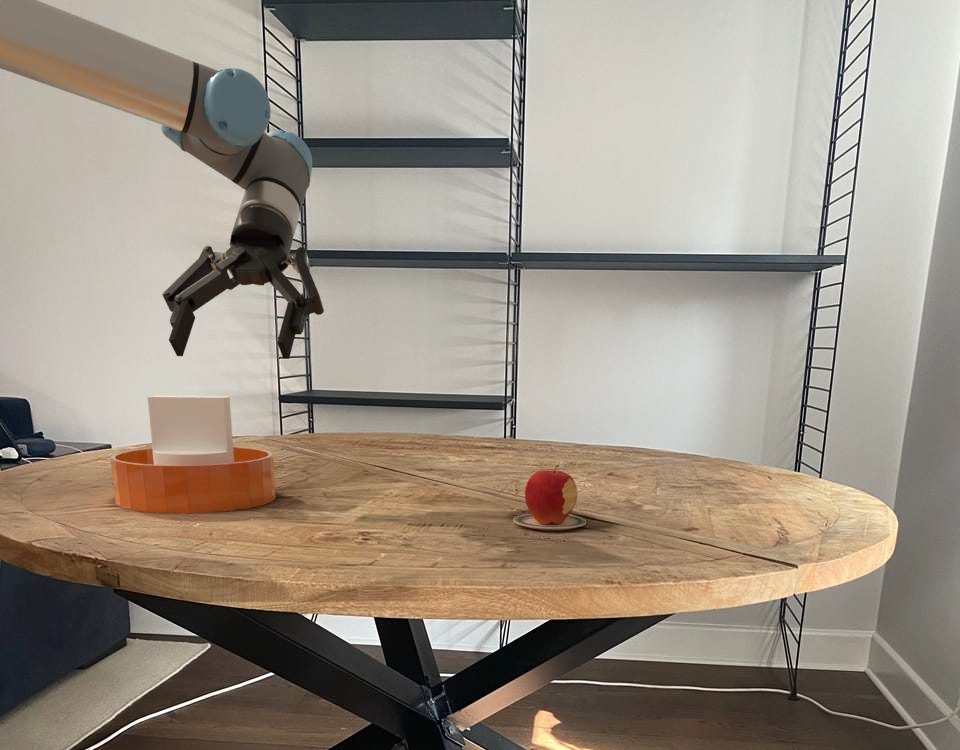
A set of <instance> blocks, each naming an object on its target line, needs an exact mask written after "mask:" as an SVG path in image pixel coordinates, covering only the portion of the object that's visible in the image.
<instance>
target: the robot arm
mask: <svg viewBox="0 0 960 750" xmlns="http://www.w3.org/2000/svg"><path fill="white" fill-rule="evenodd" d="M0 69H1V70H3V71H7V72H10V73H13V74H15V75H18V76H21V77H24V78H27V79H29V80H32V81H36V82H38V83H41V84H44V85H47V86H50V87H53V88H56V89H58V90H61V91H64V92H67V93H69V94H73V95H74V96H79V97H81V98H84V99H87V100H89V101H92V102H96V103H98V104H101V105H104V106H107V107H110V108H113V109H116V110H119V111H121V112H124V113H127V114H130V115H133V116H135V117H139V118H142V119H145V120H147V121H150V122H153V123H156V124H159V125H161V126H160V128H161V132H162V134H163V135H164V137H166V139H168V140H169V141H170V142H172V143H173V144H174V145H176V146H177V147H179V149H180V150H181V151H183V152H184V153H185V152H186V153H188V154H189V155H190V156H192V157H193V158H196V159H197V160H199V162H202V163H203V164H205V165H206V166H208V167H209V168H211V169H213V170H214V171H215V172H217V173H219V174H220V175H222V176H223V177H225V178H227V179H228V180H230V181H231V182H232V183H233V184H235V185H237V186H238V187H240V188H241V189H242V190H244V193H243V197H242V199H241V202H240V206H239V209H238V213H237V216H236V219H235V221H234V224H233V228H232V231H231V234H230V239H229V240H230V241H229V246H228V248H227V249H225V250H224V252H220V251H219V252H218V251H214V250H213V247H212V246H210V245H206V246H204V247H203V248H202V250H201V252H200V254H199V256H198V258H196V260H195V261H194V262H193V263H192V264H190V266H189V267H187V269H185V271H183V272H182V273H181V275H180V276H178V277H177V278H176V279H175V280H174V281H173V282H172V283H171V284H170V285H169V286H168V287H167V288H166V289H165V290H164V291H163V292H162V294H161V295H162V297H163V300H164V302H165V303H166V305H167V307H168V309H169V312H171V315H170V318H169V324H170V326H171V328H172V329H171V332H170V335H169V338H168V341H169V343H170V346H171V348H172V350H173V351H174V353H175V355H176V357H183V356H184V354H185V351H186V348H187V345H188V341H189V339H190V336H191V333H192V329H193V327H194V322H195V321H196V315H195V314H194V312H195V311H197V310H199V309H200V308H202V307H203V306H205V305H206V304H207V303H209V302H211V301H213V299H215V298H216V297H218V296H219V295H220V294H222V293H223V292H225V291H226V290H229V291H232V290H233V289H235V288H237V287H238V286H250V285H255V286H265V284H268V283H269V284H270V285H271V286H272V287H273V288H274V290H275V291H278V292H279V294H280V295H281V296H282V297H283V299H284V300H285V301H286V302H287V304H286V308H285V311H284V314H283V319H282V322H281V327H280V330H279V333H278V338H277V341H276V343H277V345H278V349H279V351H280V354H281V357H282V359H284V360H289V359H290V357H291V354H292V349H293V346H294V342H295V339H296V335H299V336H300V335H302V334H303V333H304V329H305V326H306V321H307V318H309V316H310V315H311V314H315V315H318V316H319V315H322V314H323V313H324V312H325V309H324V306H323V303H322V302H323V301H322V299H321V296H320V293H319V290H318V288H317V286H316V282H315V281H314V278H313V276H312V274H311V263H310V259H309V257H308V253H307V250H306V248H305V247H303V246H299V247H298V248H296V250H295V253H294V252H293V253H291V249H292V245H293V242H294V237H295V234H296V230H297V226H298V222H299V220H300V214H301V210H302V208H303V204H304V201H305V198H306V194H307V191H308V189H309V188H310V184H311V176H312V171H313V170H312V169H313V157H312V153H311V150H310V148H309V147H308V145H307V144H306V142H305V141H304V140H303V139H302V138H301V137H300V136H299V135H297V134H295V133H294V132H291V131H290V132H289V131H284V130H282V129H275V130H272V131H269V132H267V133H266V130H267V129H268V126H269V124H270V121H271V114H272V113H271V111H272V110H271V103H270V99H269V96H268V92H267V91H266V88H265V87H264V86H263V84H262V83H261V82H260V80H259V79H258V78H257V77H256V76H254V75H253V74H252V73H251V72H248V71H247V70H244V69H241V68H238V67H237V68H235V67H233V68H230V67H229V68H225V69H220V70H218V69H216V68H215V69H214V68H213V67H210V66H208V65H205V64H202V63H199V62H196V61H193V60H190V59H188V58H185V57H183V56H181V55H178V54H175V53H173V52H170V51H168V50H165V49H162V48H160V47H158V46H155V45H153V44H149V43H147V42H145V41H143V40H141V39H140V40H139V39H137V38H135V37H132V36H129V35H126V34H124V33H121V32H120V31H116V30H115V29H111V28H109V27H106V26H104V25H102V24H99V23H97V22H94V21H92V20H89V19H86V18H83V17H81V16H79V15H76V14H74V13H71V12H68V11H65V10H64V9H61V8H58V7H55V6H53V5H50V4H48V3H45V2H42V1H40V0H0ZM289 266H291V267H292V269H293V270H294V271H295V272H296V273H297V274H299V277H300V281H301V283H302V285H303V288H304V290H305V292H306V295H307V297H304V294H303V292H301V293H300V291H299V290H298V289H297V288H296V287H295V286H294V284H293V283H292V282H291V281H290V280H289V278H288V277H287V276H286V275H285V274H284V271H285V270H287V269H288V267H289ZM228 271H229V272H228ZM229 273H230V275H231V276H232V277H231V276H230V275H229Z"/></svg>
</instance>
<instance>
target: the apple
mask: <svg viewBox="0 0 960 750" xmlns="http://www.w3.org/2000/svg"><path fill="white" fill-rule="evenodd" d="M559 467H561V465H559V464H556V465H555V468H554V470H544V469H543V470H538V471H536V472H535V473H533V474H532V475H531V476H530V477H529V478H528V480H527V482H526V485H525V489H524V499H525V505H526V508H527V509H528V511H529V513H528V514H521V515H518V516H514V518H513V523H514V524H517V525H519V526H523V527H526V528H528V529H533V530H539V531H552V532H553V531H555V532H556V531H566V530H567V531H568V530H572V529H575V528H579V527H583V526H585V525H586V524H587V520H586V519H585V518H582V517H580V516H576V515H570V514H571V513H572V512H573V510H574V508H575V506H576V504H577V501H578V488H577V484H576V482H575V480H574V478H573V477H572V476H571V474H569V473H567V472H564V471H561V470H557V468H559Z"/></svg>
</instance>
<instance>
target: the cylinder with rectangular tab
mask: <svg viewBox="0 0 960 750" xmlns="http://www.w3.org/2000/svg"><path fill="white" fill-rule="evenodd" d="M230 397H231V396H230V395H180V394H179V395H178V394H177V395H176V394H175V395H173V394H172V395H169V394H167V395H166V394H154V395H153V394H152V395H147V409H148V417H149V419H148V420H149V427H150V428H149V429H150V440H151V448H152V450H153V461H154V465H210V464H226V463H234V453H233V447H234V439H233V427H232V426H233V424H232V409H231V398H230Z"/></svg>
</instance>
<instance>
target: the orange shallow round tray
mask: <svg viewBox="0 0 960 750" xmlns="http://www.w3.org/2000/svg"><path fill="white" fill-rule="evenodd" d="M233 453H234V463H226V464H210V465H154V461H153V450H152V447H150V448H149V447H147V448H141V449H140V448H139V449H133V450H132V449H131V450H127V451H122V452H117V453H115V454H113V455H110V466H111V476H112V485H113V494H114V501H115V505H117V506H118V507H120V508H123V509H126V510H130V511H137V512H145V513H156V514H157V513H160V514H201V513H219V512H229V511H237V510H244V509H250V508H251V509H252V508H255V507H260V506H264V505H267V504H269V503H271V502H274V500H275V499H276V498H277V496H276V479H275V463H274V461H275V460H274V454H273V453H272V451H269V450H265V449H260V448H255V447H245V446H244V447H243V446H233Z"/></svg>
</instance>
